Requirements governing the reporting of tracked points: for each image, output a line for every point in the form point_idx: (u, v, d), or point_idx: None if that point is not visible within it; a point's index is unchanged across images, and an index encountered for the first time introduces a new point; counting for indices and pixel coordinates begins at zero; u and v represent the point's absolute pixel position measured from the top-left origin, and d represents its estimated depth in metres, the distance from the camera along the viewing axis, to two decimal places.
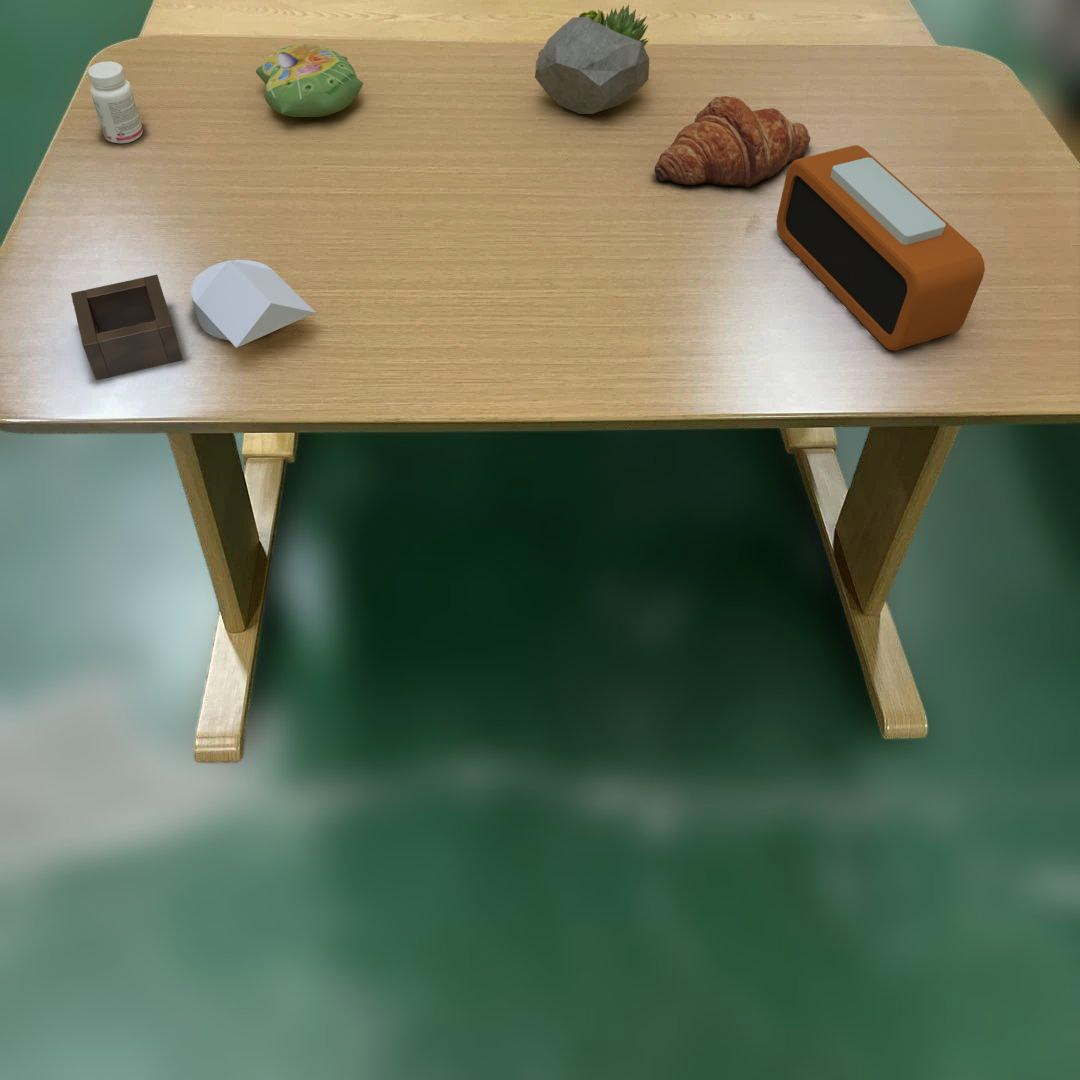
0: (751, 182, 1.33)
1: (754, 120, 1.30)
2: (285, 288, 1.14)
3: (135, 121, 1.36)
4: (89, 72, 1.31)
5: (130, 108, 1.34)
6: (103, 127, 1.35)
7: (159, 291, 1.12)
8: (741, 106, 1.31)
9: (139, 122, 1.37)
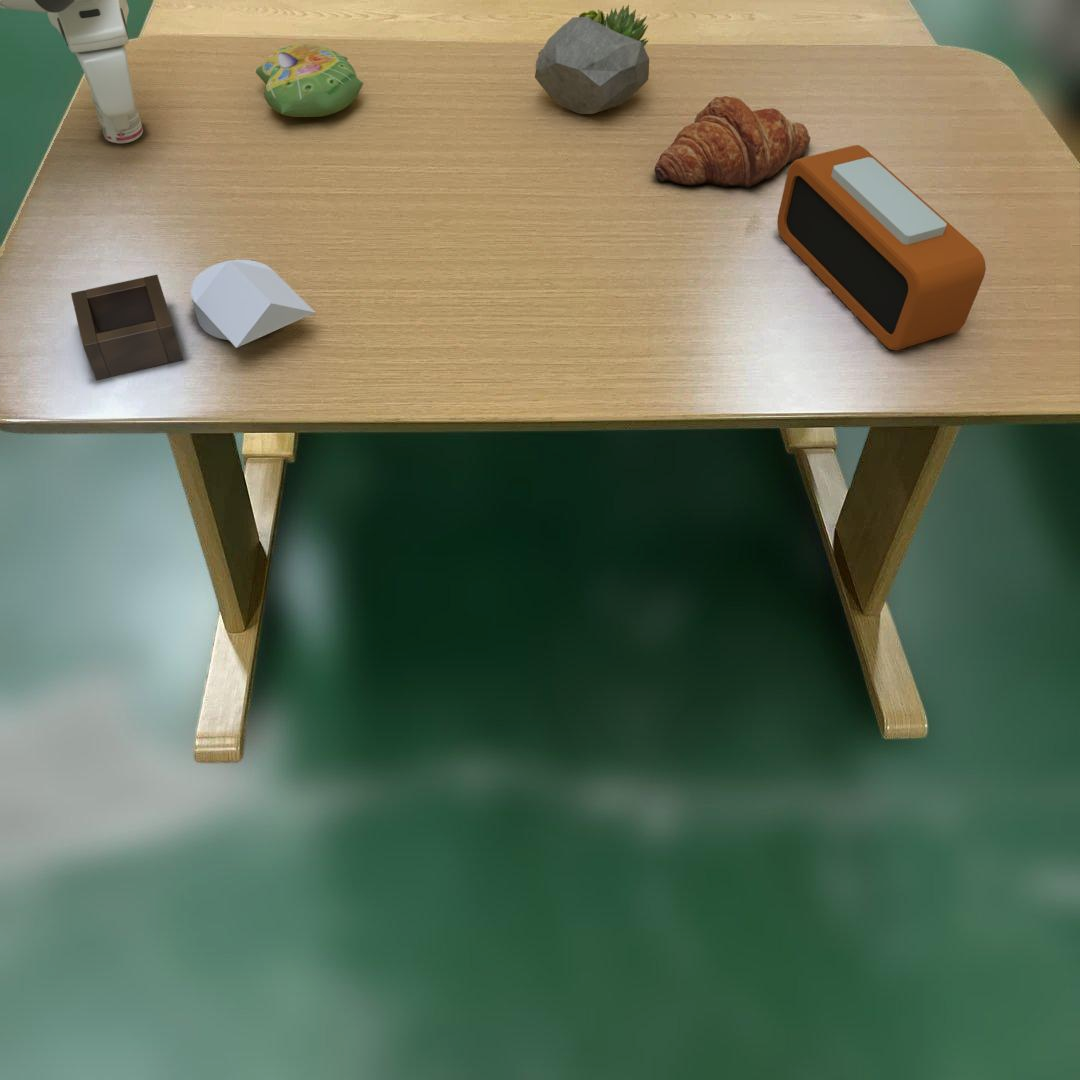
0: (751, 182, 1.33)
1: (754, 121, 1.30)
2: (285, 288, 1.14)
3: (135, 121, 1.36)
4: None
5: None
6: (103, 127, 1.35)
7: (159, 291, 1.12)
8: (741, 107, 1.31)
9: (139, 122, 1.37)
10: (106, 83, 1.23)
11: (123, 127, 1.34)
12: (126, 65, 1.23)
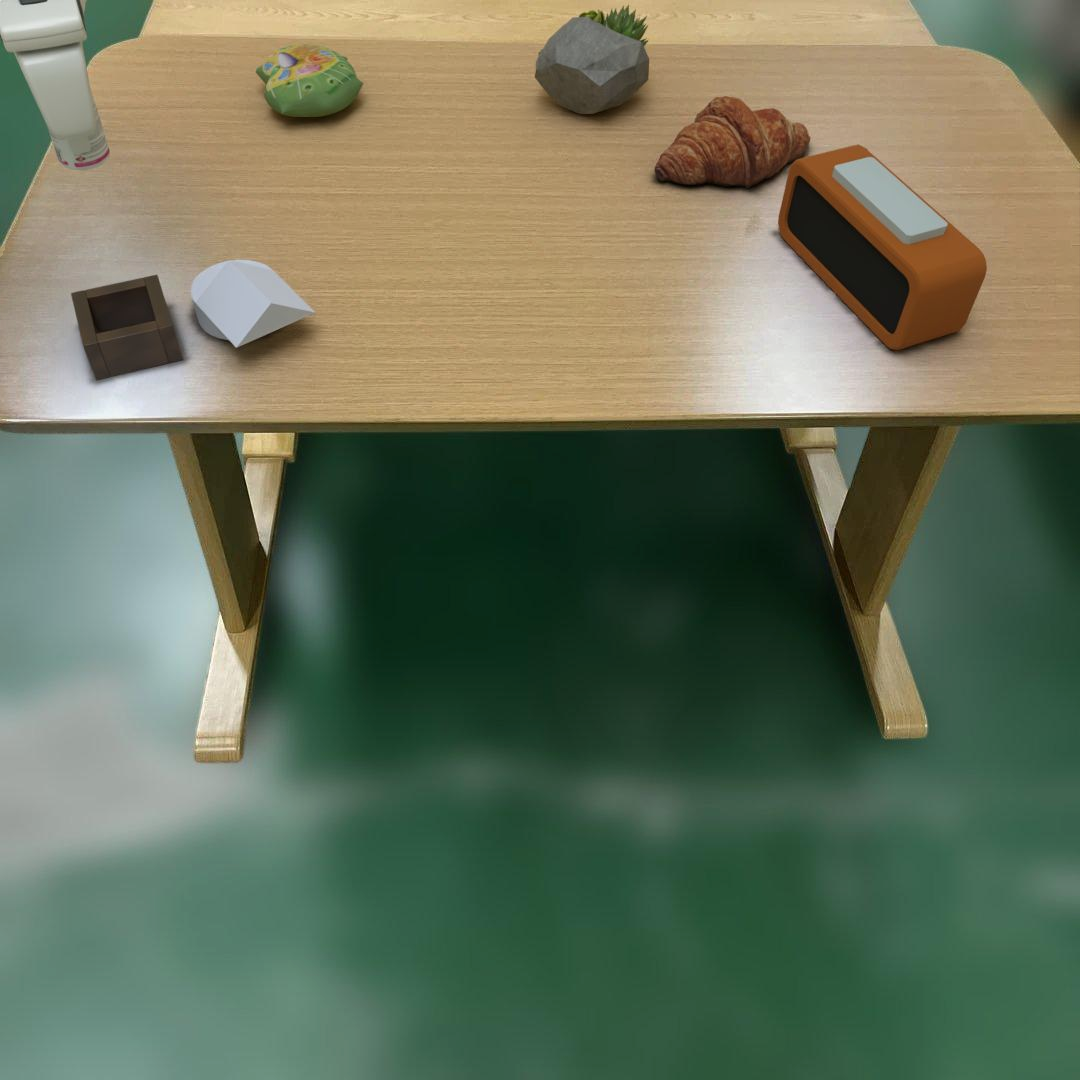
0: (751, 182, 1.33)
1: (754, 120, 1.30)
2: (285, 288, 1.14)
3: (99, 142, 1.04)
4: None
5: None
6: (57, 149, 1.03)
7: (159, 291, 1.12)
8: (741, 107, 1.31)
9: (105, 143, 1.05)
10: (56, 94, 0.91)
11: (82, 150, 1.02)
12: (83, 69, 0.91)
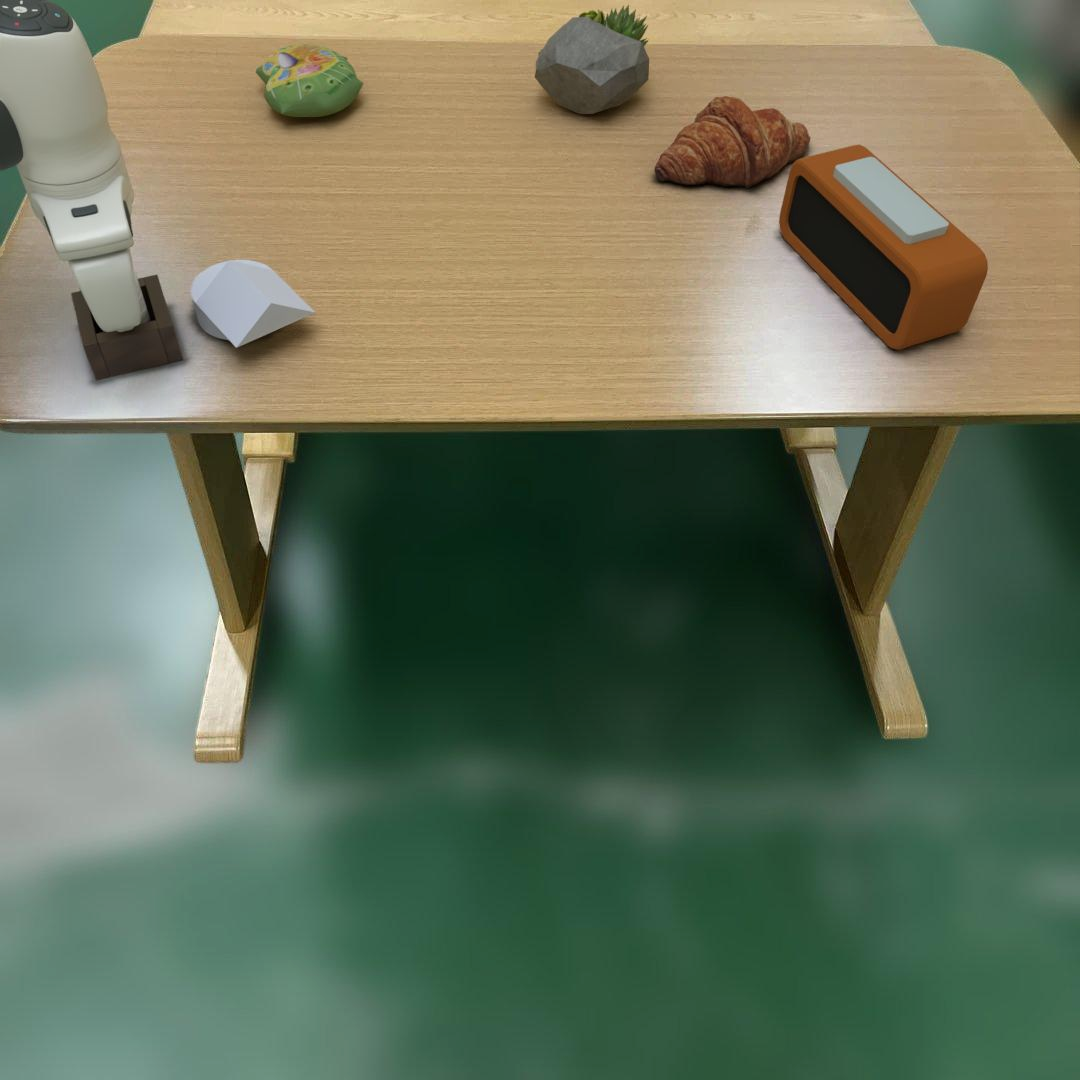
0: (751, 182, 1.33)
1: (754, 120, 1.30)
2: (285, 288, 1.14)
3: (142, 317, 1.10)
4: None
5: None
6: None
7: (159, 291, 1.12)
8: (741, 107, 1.31)
9: (147, 316, 1.11)
10: (105, 295, 0.97)
11: (126, 329, 1.08)
12: (131, 272, 0.97)
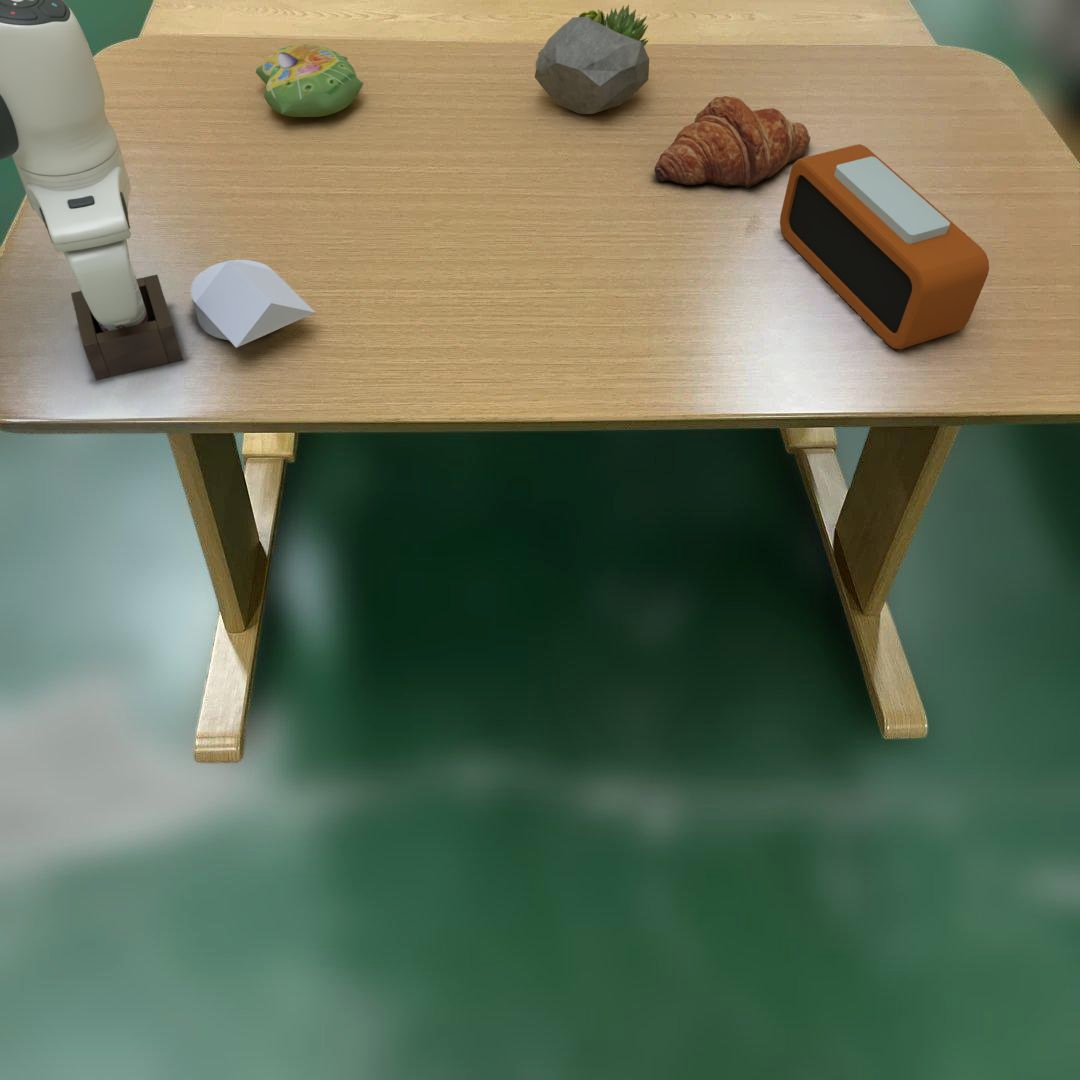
0: (751, 182, 1.33)
1: (754, 120, 1.30)
2: (285, 288, 1.14)
3: (138, 310, 1.09)
4: None
5: None
6: None
7: (159, 291, 1.12)
8: (741, 107, 1.31)
9: (143, 310, 1.10)
10: (101, 287, 0.97)
11: (122, 322, 1.07)
12: (127, 264, 0.97)
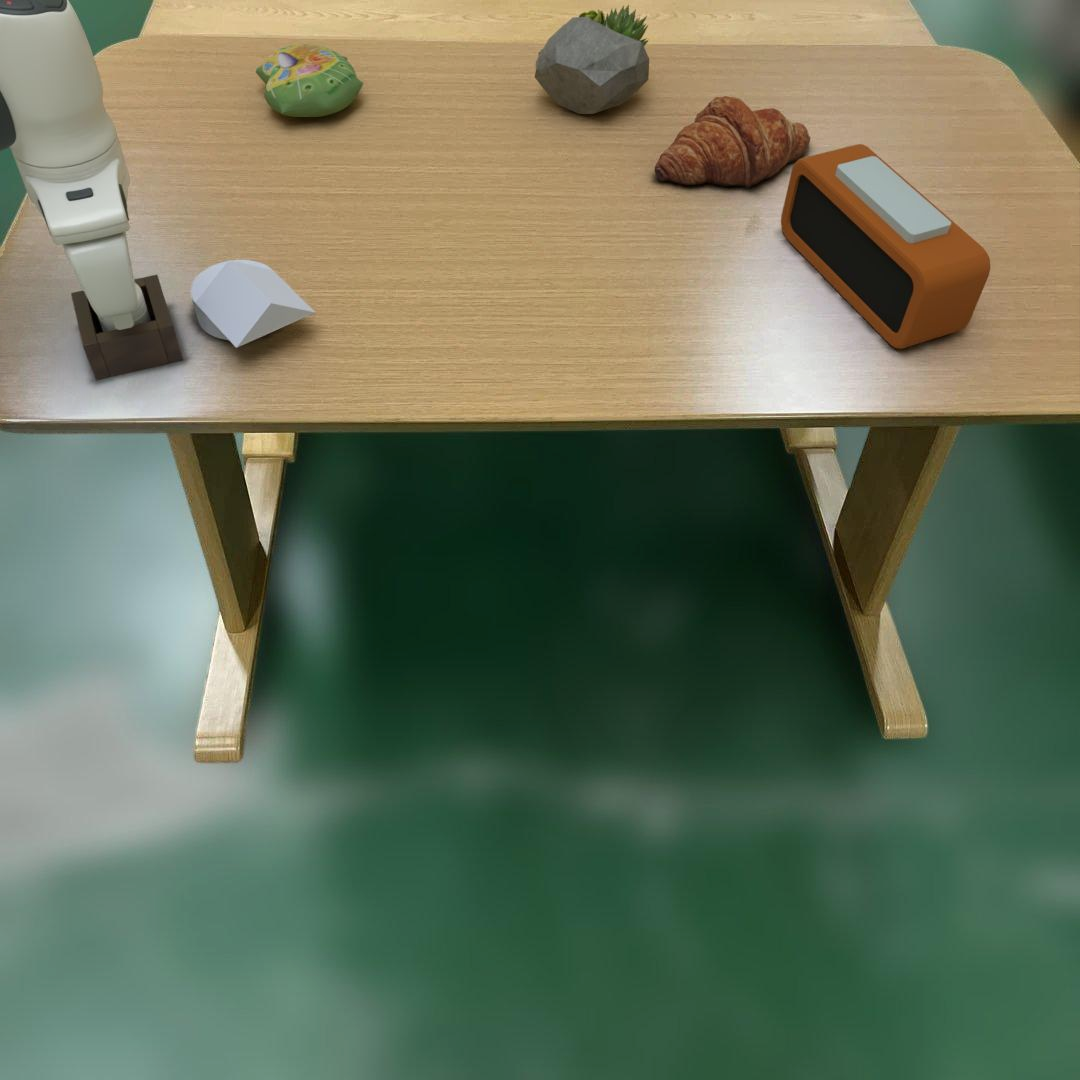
0: (751, 182, 1.33)
1: (754, 120, 1.30)
2: (285, 288, 1.14)
3: None
4: None
5: (141, 318, 1.10)
6: None
7: (159, 291, 1.12)
8: (741, 107, 1.31)
9: None
10: (100, 280, 0.96)
11: (126, 326, 1.06)
12: (127, 257, 0.96)
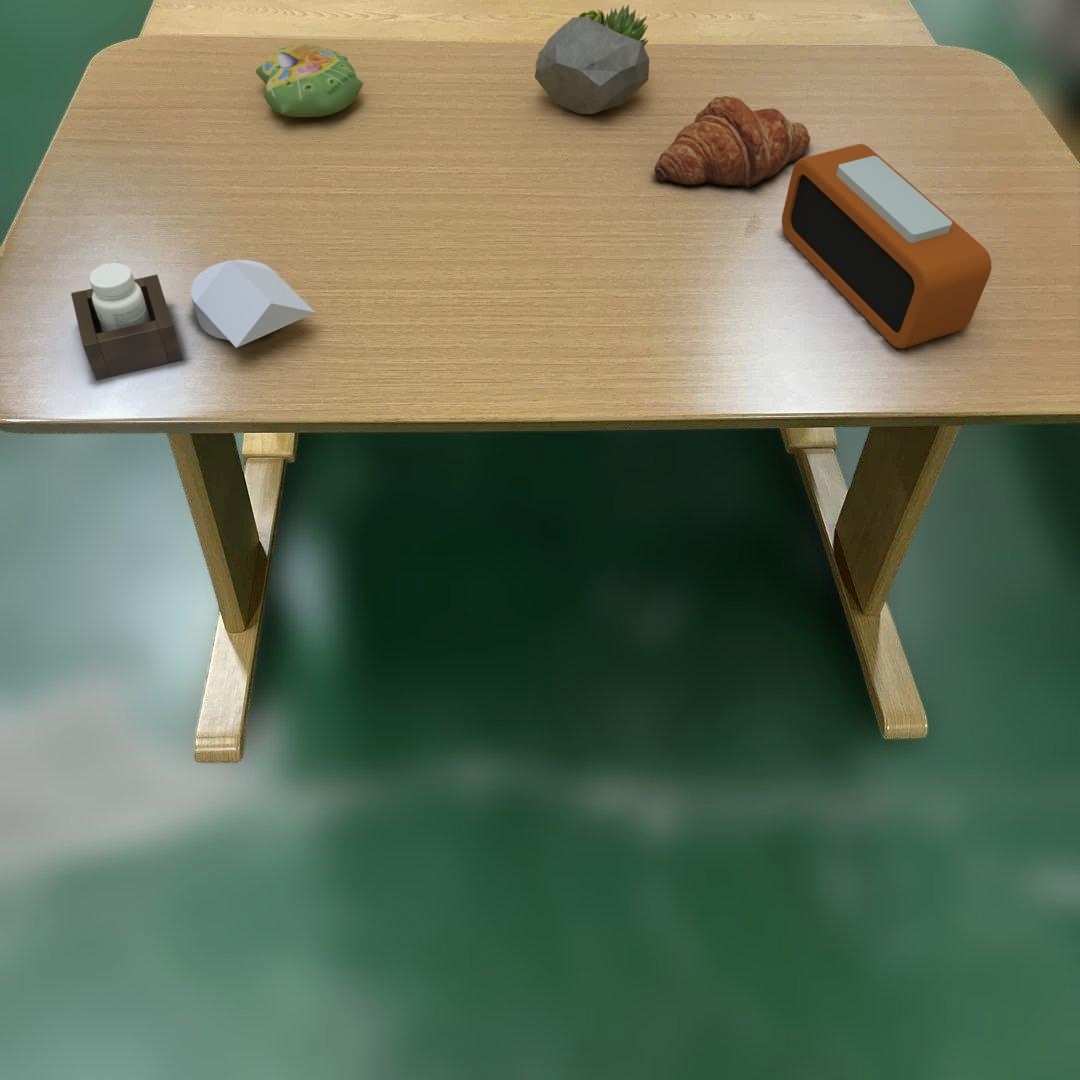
0: (751, 182, 1.33)
1: (754, 120, 1.30)
2: (285, 288, 1.14)
3: None
4: (91, 279, 1.07)
5: (140, 317, 1.10)
6: None
7: (159, 291, 1.12)
8: (741, 107, 1.31)
9: None
10: None
11: None
12: None
